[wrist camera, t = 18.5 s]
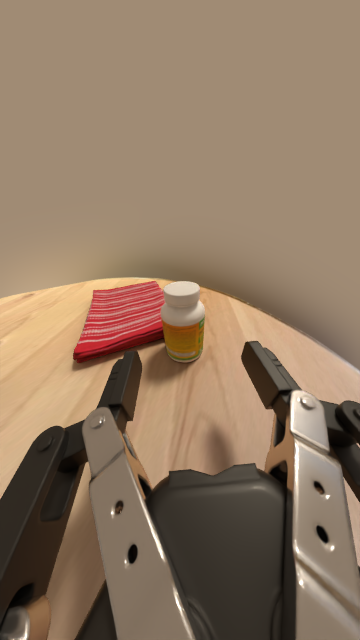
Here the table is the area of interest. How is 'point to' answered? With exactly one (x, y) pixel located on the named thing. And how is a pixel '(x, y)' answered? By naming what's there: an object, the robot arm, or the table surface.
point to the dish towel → (121, 320)
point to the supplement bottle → (183, 321)
